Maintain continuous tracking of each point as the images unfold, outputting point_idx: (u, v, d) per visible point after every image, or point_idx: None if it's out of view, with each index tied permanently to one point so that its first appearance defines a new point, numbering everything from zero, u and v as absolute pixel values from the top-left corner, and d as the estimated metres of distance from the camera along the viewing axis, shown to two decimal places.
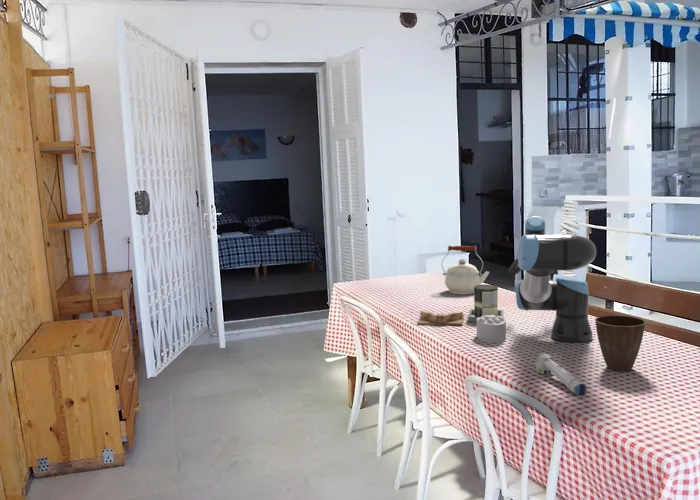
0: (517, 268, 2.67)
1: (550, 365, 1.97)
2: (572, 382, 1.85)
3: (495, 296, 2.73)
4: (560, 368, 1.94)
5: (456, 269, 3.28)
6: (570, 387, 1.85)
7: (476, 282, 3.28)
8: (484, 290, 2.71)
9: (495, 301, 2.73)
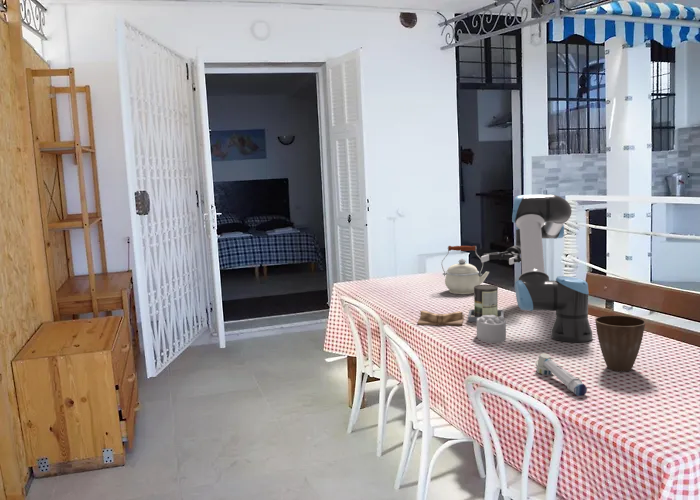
0: None
1: (550, 365, 1.97)
2: (572, 382, 1.84)
3: (495, 296, 2.73)
4: (560, 368, 1.93)
5: (456, 269, 3.28)
6: (570, 387, 1.85)
7: (476, 282, 3.28)
8: (484, 290, 2.71)
9: (495, 301, 2.73)
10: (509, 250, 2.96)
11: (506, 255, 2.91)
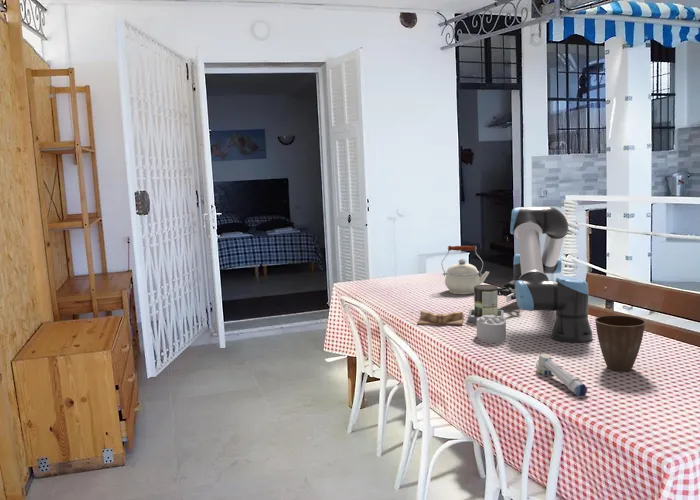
0: None
1: (550, 366, 1.97)
2: (573, 382, 1.84)
3: (495, 296, 2.73)
4: (561, 368, 1.93)
5: (456, 269, 3.28)
6: (571, 387, 1.84)
7: (476, 282, 3.28)
8: (484, 290, 2.71)
9: (495, 301, 2.73)
10: (507, 286, 2.97)
11: (504, 291, 2.92)
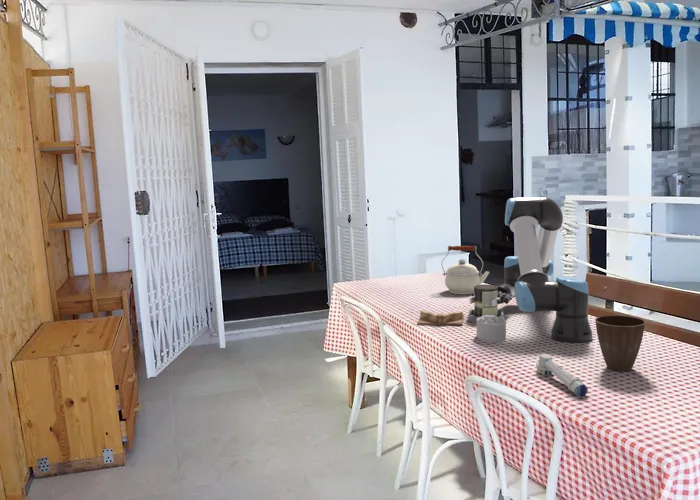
0: None
1: (551, 366, 1.97)
2: (573, 383, 1.84)
3: (495, 296, 2.73)
4: (561, 369, 1.93)
5: (456, 269, 3.28)
6: (571, 388, 1.84)
7: (476, 282, 3.28)
8: (484, 290, 2.71)
9: None
10: None
11: None
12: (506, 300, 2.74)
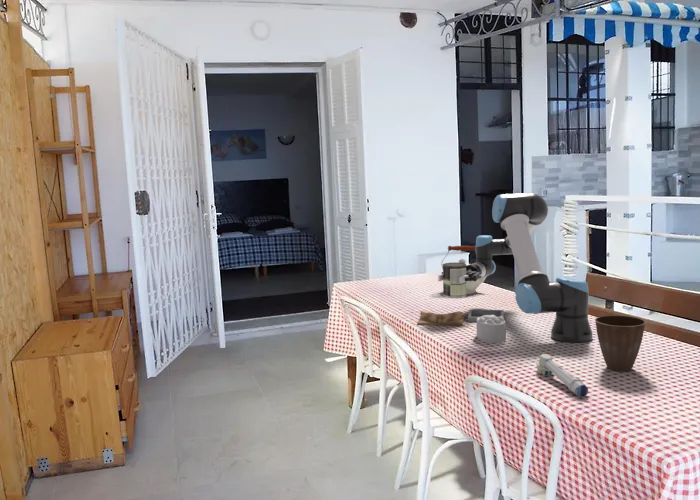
0: None
1: (551, 366, 1.97)
2: (573, 383, 1.84)
3: (463, 273, 2.73)
4: (561, 369, 1.93)
5: None
6: (571, 388, 1.84)
7: (476, 282, 3.28)
8: (452, 267, 2.72)
9: None
10: (467, 268, 2.88)
11: None
12: (474, 277, 2.74)
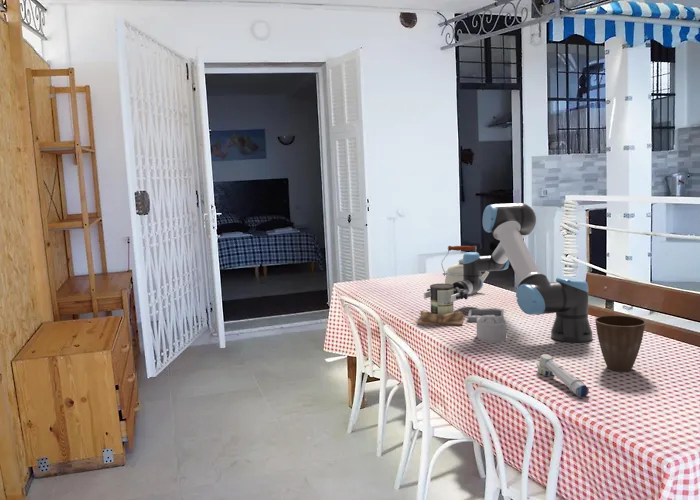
0: None
1: (551, 366, 1.96)
2: (574, 383, 1.84)
3: (451, 294, 2.73)
4: (562, 369, 1.92)
5: (456, 269, 3.28)
6: (572, 388, 1.84)
7: None
8: (439, 289, 2.72)
9: (450, 300, 2.74)
10: (454, 285, 2.88)
11: None
12: (466, 296, 2.74)
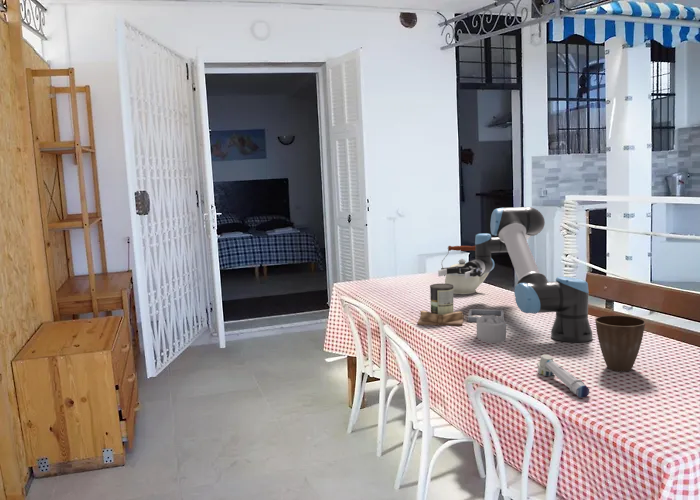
0: None
1: (552, 367, 1.96)
2: (574, 384, 1.83)
3: (451, 294, 2.73)
4: (562, 369, 1.92)
5: None
6: (572, 389, 1.83)
7: (476, 282, 3.28)
8: (439, 289, 2.72)
9: (451, 300, 2.74)
10: (467, 264, 2.98)
11: (464, 269, 2.93)
12: (479, 273, 2.84)
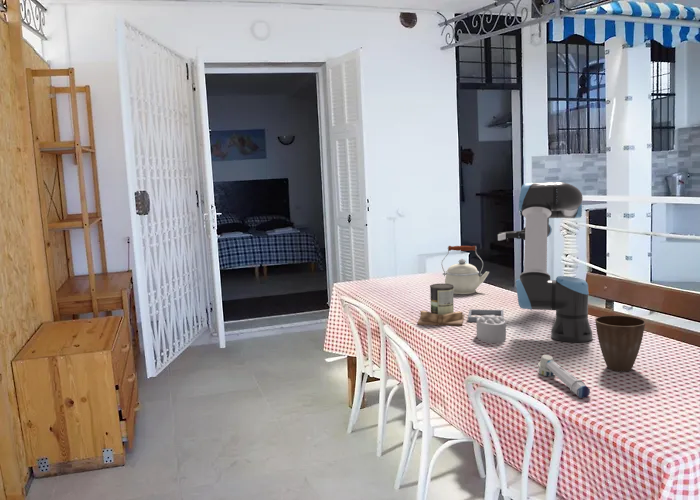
0: None
1: (552, 367, 1.96)
2: (575, 384, 1.83)
3: (451, 294, 2.73)
4: (563, 370, 1.92)
5: (456, 269, 3.28)
6: (573, 389, 1.83)
7: (476, 282, 3.28)
8: (439, 289, 2.72)
9: (451, 300, 2.74)
10: None
11: (523, 234, 2.84)
12: None
